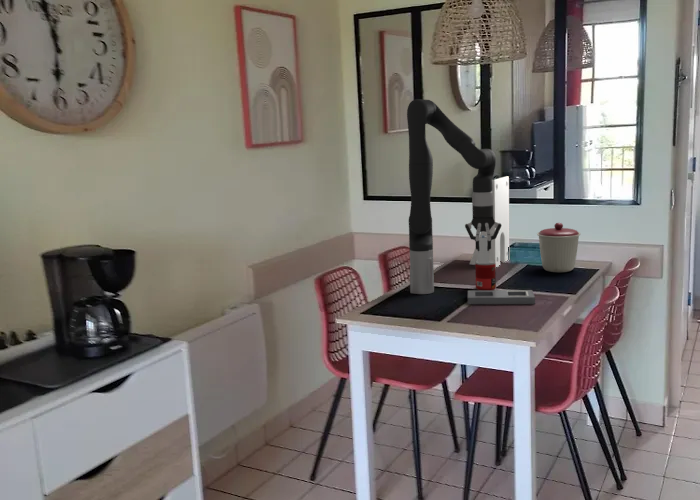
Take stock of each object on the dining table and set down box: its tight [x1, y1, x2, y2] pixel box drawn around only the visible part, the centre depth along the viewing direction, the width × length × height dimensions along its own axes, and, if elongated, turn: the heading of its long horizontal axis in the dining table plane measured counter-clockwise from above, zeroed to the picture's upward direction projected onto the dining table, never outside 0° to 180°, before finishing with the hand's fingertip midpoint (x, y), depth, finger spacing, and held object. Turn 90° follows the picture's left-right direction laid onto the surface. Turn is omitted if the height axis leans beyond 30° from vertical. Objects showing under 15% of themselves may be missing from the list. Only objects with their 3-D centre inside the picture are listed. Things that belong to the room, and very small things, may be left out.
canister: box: [536, 222, 581, 273], centre depth 302 cm, size 18×18×21 cm
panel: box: [467, 289, 536, 305], centre depth 258 cm, size 24×11×3 cm, turn 80°
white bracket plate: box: [469, 175, 510, 268], centre depth 323 cm, size 20×14×40 cm
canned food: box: [474, 260, 497, 290], centre depth 276 cm, size 8×8×11 cm
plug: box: [478, 235, 489, 264], centre depth 256 cm, size 4×4×10 cm
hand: (483, 250), depth 255 cm, fingers closed on plug, 3 cm apart
